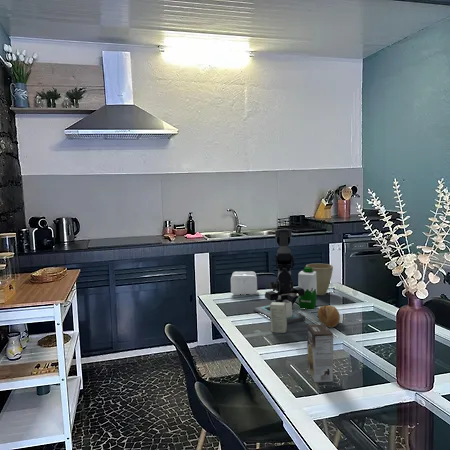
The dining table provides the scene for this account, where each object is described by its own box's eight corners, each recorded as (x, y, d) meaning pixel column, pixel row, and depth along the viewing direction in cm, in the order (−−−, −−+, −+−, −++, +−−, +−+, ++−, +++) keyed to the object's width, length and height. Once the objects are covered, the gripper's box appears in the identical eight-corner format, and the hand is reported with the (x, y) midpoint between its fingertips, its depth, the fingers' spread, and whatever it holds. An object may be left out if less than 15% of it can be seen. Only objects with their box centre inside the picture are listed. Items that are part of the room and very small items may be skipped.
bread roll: (319, 329, 180) (319, 311, 180) (315, 318, 195) (315, 301, 194) (342, 329, 179) (342, 311, 179) (336, 318, 194) (336, 301, 193)
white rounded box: (257, 290, 247) (257, 271, 246) (257, 295, 237) (256, 275, 235) (232, 290, 249) (232, 271, 248) (230, 295, 239) (230, 275, 237)
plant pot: (330, 298, 227) (330, 269, 225) (303, 295, 233) (302, 267, 231) (335, 291, 240) (335, 263, 238) (309, 289, 246) (309, 262, 245)
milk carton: (317, 305, 214) (317, 267, 212) (314, 310, 206) (314, 271, 204) (300, 304, 217) (300, 266, 215) (297, 309, 209) (296, 270, 207)
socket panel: (278, 306, 215) (277, 303, 215) (305, 319, 193) (305, 316, 193) (254, 310, 209) (253, 307, 209) (279, 325, 187) (279, 321, 187)
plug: (286, 314, 199) (286, 299, 198) (292, 317, 195) (291, 301, 194) (278, 316, 197) (278, 300, 196) (283, 318, 193) (283, 303, 192)
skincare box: (287, 329, 181) (286, 302, 180) (285, 333, 177) (284, 305, 176) (272, 328, 184) (272, 301, 182) (270, 332, 179) (269, 304, 178)
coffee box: (307, 370, 143) (306, 324, 141) (325, 369, 143) (325, 323, 141) (314, 382, 134) (313, 334, 132) (333, 381, 134) (333, 333, 132)
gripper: (291, 273, 205) (292, 304, 207) (258, 277, 197) (259, 309, 199) (305, 277, 195) (305, 310, 196) (270, 282, 187) (271, 316, 189)
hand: (285, 311), depth 195 cm, fingers closed on plug, 4 cm apart
